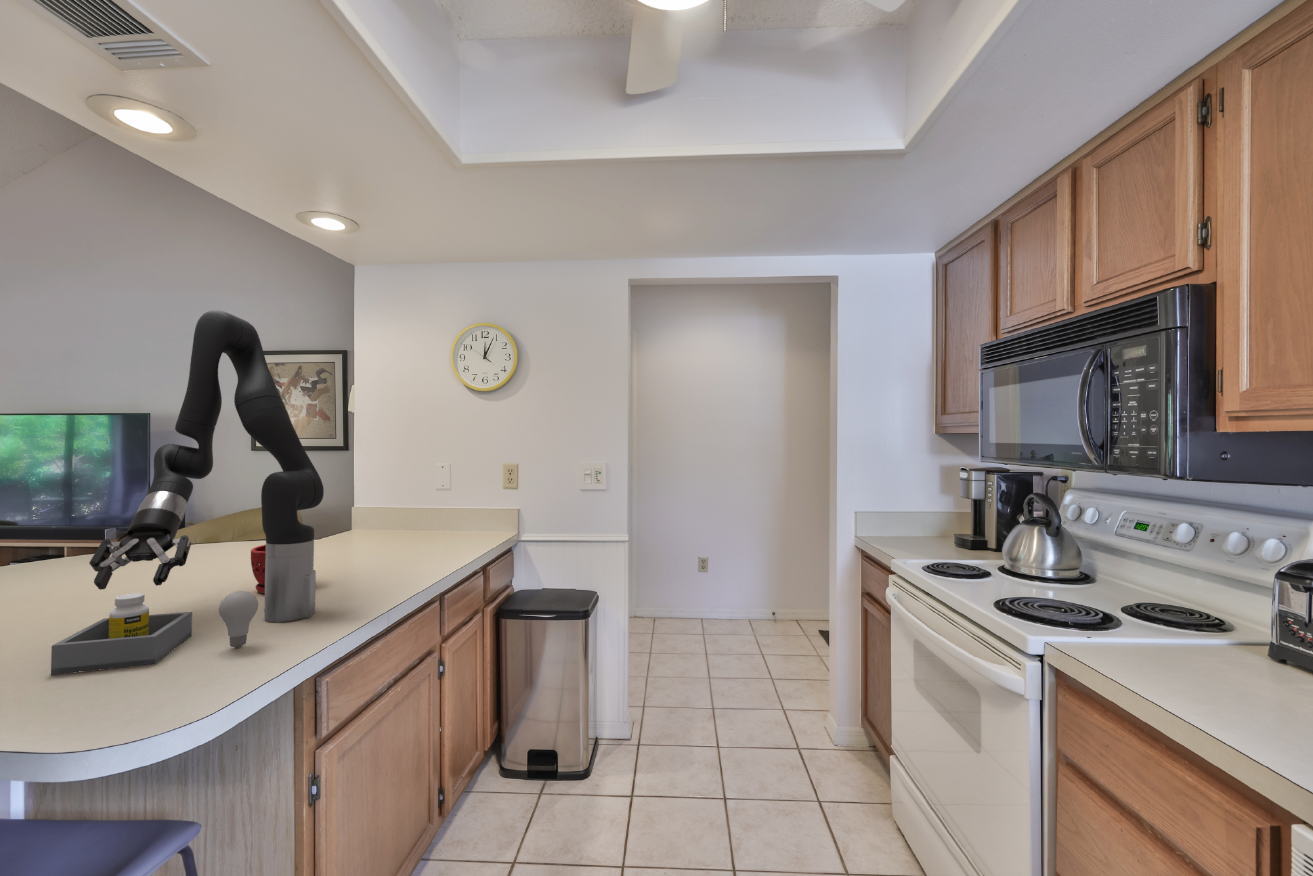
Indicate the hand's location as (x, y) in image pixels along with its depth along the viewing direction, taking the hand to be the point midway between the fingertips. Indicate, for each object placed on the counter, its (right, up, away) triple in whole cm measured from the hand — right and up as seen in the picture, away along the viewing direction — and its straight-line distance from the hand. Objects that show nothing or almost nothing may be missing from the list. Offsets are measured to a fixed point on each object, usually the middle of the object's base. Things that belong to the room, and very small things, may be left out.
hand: (128, 585), depth 105 cm
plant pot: (0, -13, +42) cm, 44 cm away
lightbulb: (+20, -13, +1) cm, 24 cm away
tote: (+2, -12, -3) cm, 13 cm away
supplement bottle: (+2, -11, -2) cm, 12 cm away
